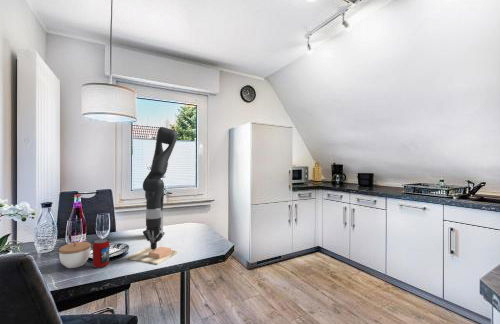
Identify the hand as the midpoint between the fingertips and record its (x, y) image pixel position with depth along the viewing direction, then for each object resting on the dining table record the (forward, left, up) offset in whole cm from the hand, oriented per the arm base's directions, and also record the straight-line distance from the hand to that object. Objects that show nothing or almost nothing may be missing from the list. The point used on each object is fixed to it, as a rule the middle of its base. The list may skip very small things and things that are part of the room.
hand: (153, 249), depth 128 cm
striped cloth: (-1, 0, -4) cm, 4 cm away
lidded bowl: (-28, -22, -4) cm, 35 cm away
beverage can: (-16, -18, -4) cm, 24 cm away
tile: (0, +1, -2) cm, 2 cm away
